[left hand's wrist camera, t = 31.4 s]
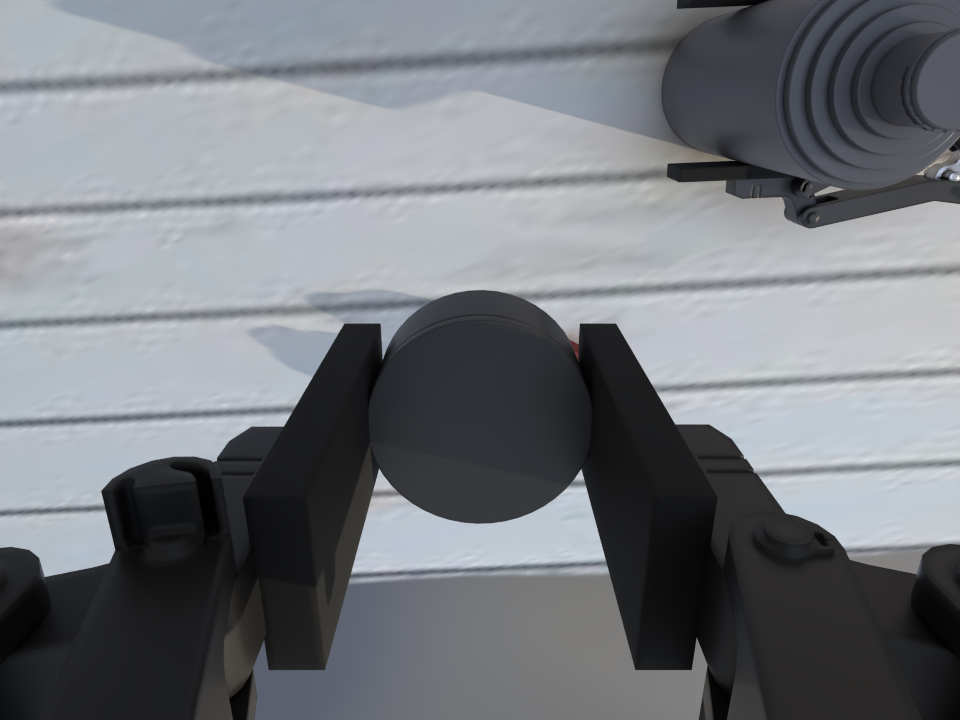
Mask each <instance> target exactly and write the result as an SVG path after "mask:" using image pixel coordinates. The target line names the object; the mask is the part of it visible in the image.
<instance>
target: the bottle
mask: <svg viewBox="0 0 960 720" xmlns="http://www.w3.org/2000/svg"><path fill="white" fill-rule="evenodd" d="M662 104H663V109H664V113H665V116H666V119H667V121H668V123H669V125H670V127H671V128H672V130H673V131H674V133H675V134H676V135H677V136H678V137H679V138H680V139H681V140H682V141H683V142H685V143H686V144H687V145H689V146H691V147H692V148H694V149H697V150H699V151H702V152H706V153H710V154H714V155H717V156H721V157H725V158H729V159H732V160H736V161H740V162H744V163H747V164H751V165H755V166H759V167H762V168H766V169H770V170H774V171H777V172H781V173H785V174H789V175H792V176H796V177H800V178H804V179H807V180H811V181H815V182H819V183H822V184H826V185H830V186H834V187H838V188H842V189H850V190H871V189H876V188H882V187H886V186H889V185H893V184H896V183H899V182H901V181H903V180H905V179H908V178H910V177H912V176H914V175H915V174H917V173H919V172H921V171H922V170H924V169H925V168H927V167H928V166H929V165H931V164H932V163H934V162H935V161H936V160H937V159H938V158H940V157H941V156H942V155H943V154H944V153H945V152H946V151H947V150H948V149H949V148H950V147H951V146H952V145H953V144H954V143H955V142H956V141H957V139H958V138H959V137H960V0H769V1H766V2H763V3H759V4H756V5H753V6H750V7H747V8H744V9H740V10H737V11H734V12H731V13H728V14H725V15H722V16H718V17H715V18H713V19H710V20H708V21H706V22H704V23H702V24H700V25H699V26H697V27H696V28H694V29H693V30H692V31H691V32H690V33H688V34H687V35H686V36H685V38H684V39H683V40H682V41H681V42H680V43H679V45H678V46H677V47H676V49H675V50H674V52H673V54H672V55H671V57H670V59H669V62H668V64H667V66H666V70H665V73H664V77H663V83H662Z"/></svg>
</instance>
